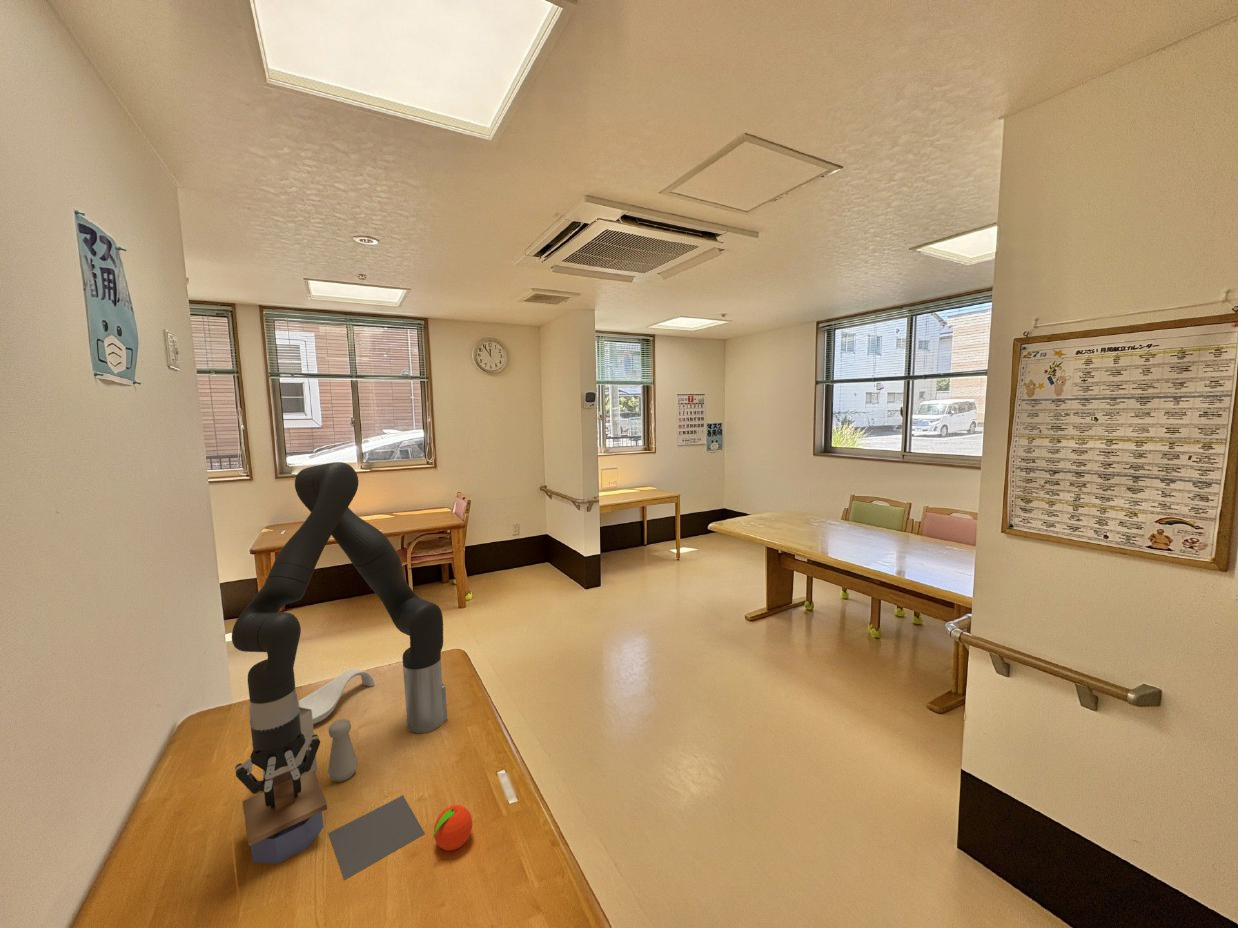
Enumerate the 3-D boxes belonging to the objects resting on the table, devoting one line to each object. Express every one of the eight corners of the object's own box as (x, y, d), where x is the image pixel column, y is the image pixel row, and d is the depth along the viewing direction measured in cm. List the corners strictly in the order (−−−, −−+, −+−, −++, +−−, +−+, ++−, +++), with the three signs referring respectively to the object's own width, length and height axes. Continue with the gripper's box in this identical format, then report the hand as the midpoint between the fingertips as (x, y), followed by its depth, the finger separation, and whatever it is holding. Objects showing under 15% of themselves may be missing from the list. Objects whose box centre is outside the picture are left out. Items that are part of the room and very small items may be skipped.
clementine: (446, 871, 87) (444, 835, 87) (422, 853, 91) (419, 818, 90) (481, 838, 94) (479, 804, 93) (456, 822, 98) (454, 789, 97)
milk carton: (291, 794, 106) (283, 711, 104) (264, 789, 108) (255, 708, 105) (317, 770, 113) (310, 692, 111) (291, 766, 114) (284, 689, 112)
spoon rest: (308, 737, 125) (305, 711, 124) (277, 727, 130) (274, 701, 129) (383, 688, 147) (381, 665, 146) (355, 681, 151) (353, 658, 151)
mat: (403, 797, 105) (403, 794, 104) (425, 836, 95) (425, 833, 95) (328, 835, 95) (328, 832, 95) (344, 883, 86) (344, 879, 86)
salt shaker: (328, 790, 107) (322, 734, 106) (329, 773, 112) (324, 719, 111) (358, 780, 110) (353, 726, 108) (358, 764, 115) (354, 712, 113)
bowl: (315, 806, 103) (313, 781, 102) (327, 840, 94) (324, 814, 94) (249, 837, 95) (246, 811, 95) (255, 877, 87) (252, 849, 86)
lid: (314, 774, 103) (312, 747, 102) (327, 808, 94) (324, 779, 93) (242, 805, 95) (239, 776, 94) (248, 846, 86) (245, 814, 85)
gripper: (314, 692, 100) (321, 771, 101) (226, 722, 90) (236, 808, 92) (322, 708, 94) (329, 792, 96) (228, 742, 85) (239, 833, 87)
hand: (283, 799), depth 94 cm, fingers closed on lid, 3 cm apart
